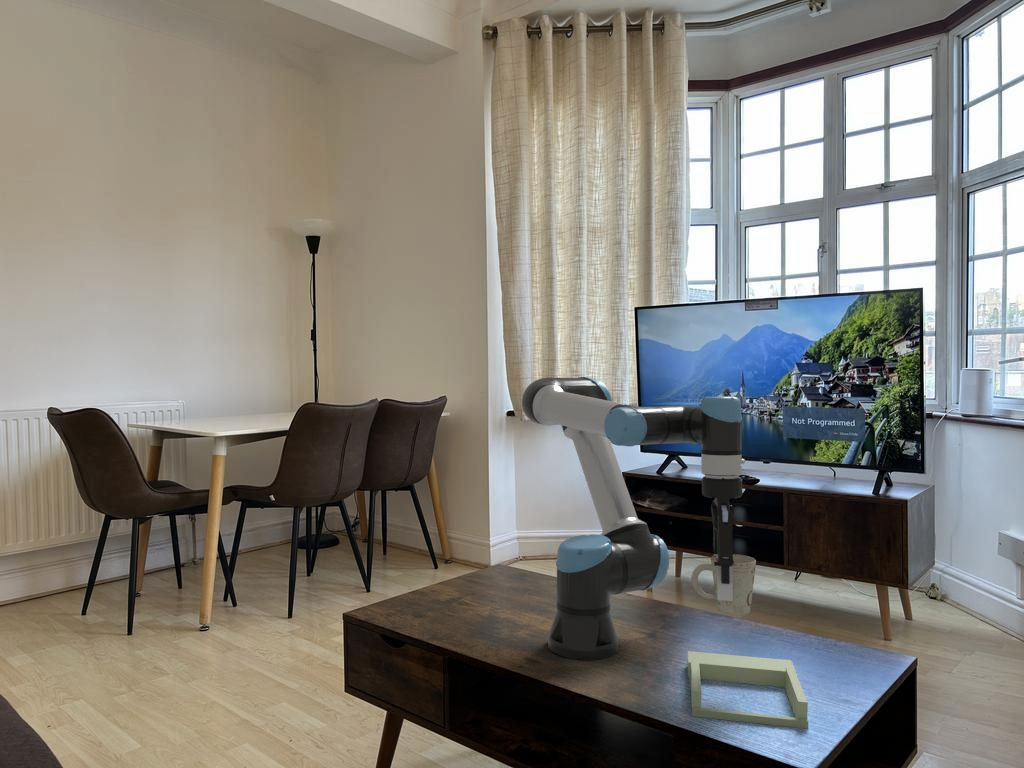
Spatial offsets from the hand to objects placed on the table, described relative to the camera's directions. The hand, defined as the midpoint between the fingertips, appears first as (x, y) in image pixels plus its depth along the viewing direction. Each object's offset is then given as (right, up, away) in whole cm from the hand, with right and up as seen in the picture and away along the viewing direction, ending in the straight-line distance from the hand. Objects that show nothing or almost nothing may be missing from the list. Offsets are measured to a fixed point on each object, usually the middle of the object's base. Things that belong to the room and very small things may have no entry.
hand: (723, 593), depth 143 cm
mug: (0, -3, +1) cm, 3 cm away
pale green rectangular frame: (+2, -17, -5) cm, 18 cm away
